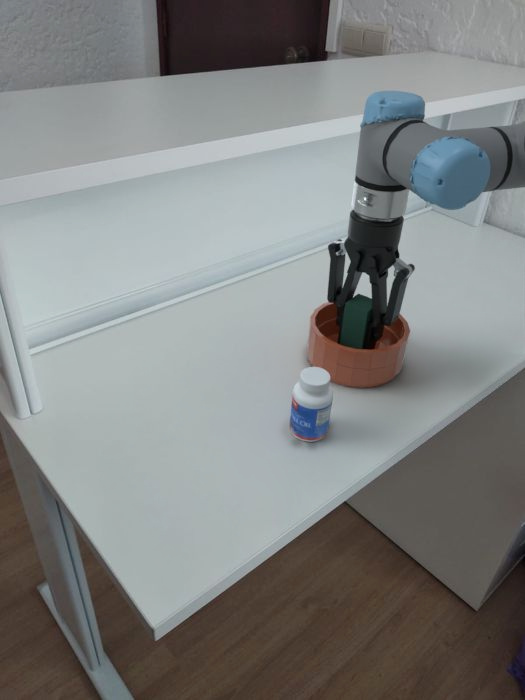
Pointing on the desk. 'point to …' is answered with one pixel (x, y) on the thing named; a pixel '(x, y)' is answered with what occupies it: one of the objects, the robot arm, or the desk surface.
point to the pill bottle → (311, 405)
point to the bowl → (355, 351)
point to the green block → (356, 321)
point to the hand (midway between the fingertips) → (355, 348)
